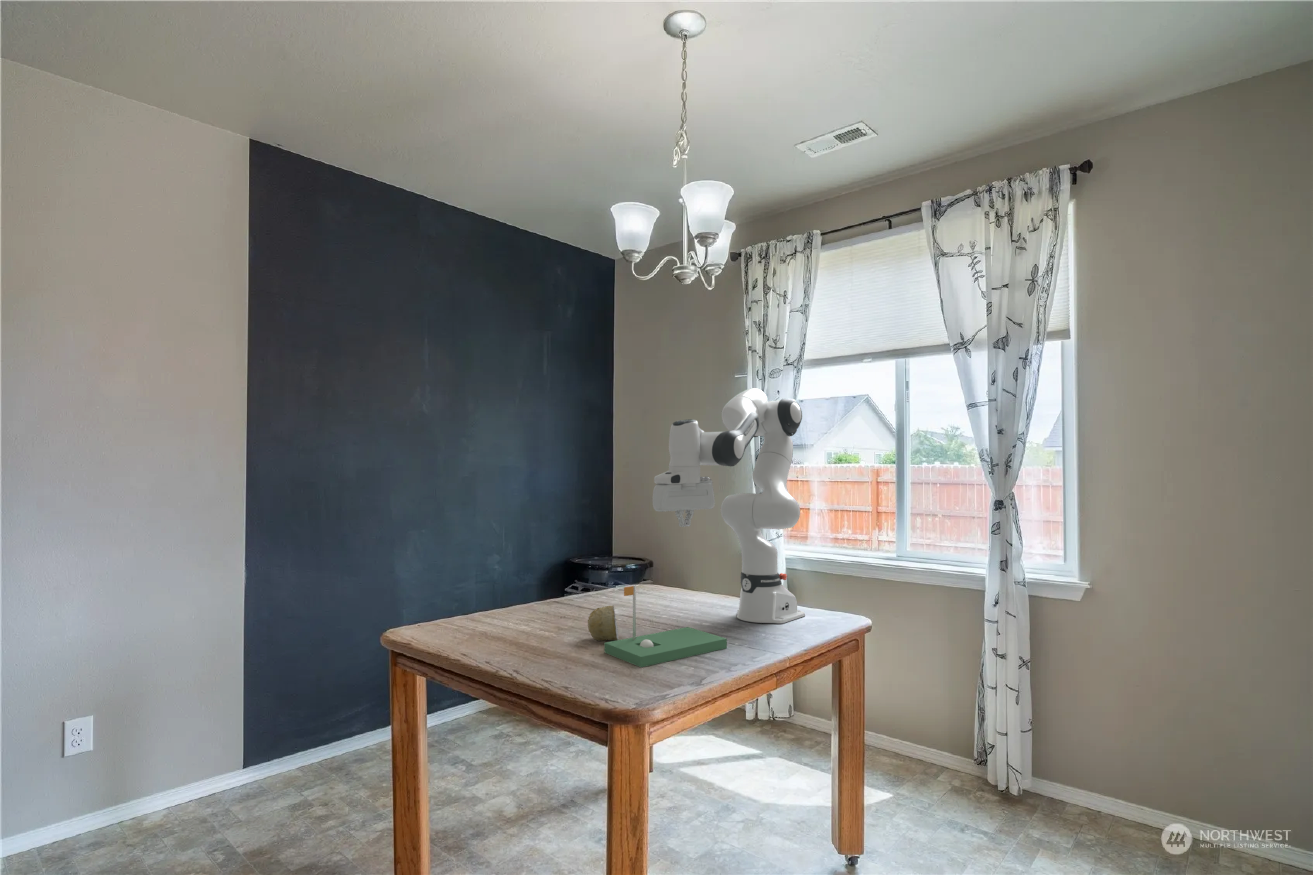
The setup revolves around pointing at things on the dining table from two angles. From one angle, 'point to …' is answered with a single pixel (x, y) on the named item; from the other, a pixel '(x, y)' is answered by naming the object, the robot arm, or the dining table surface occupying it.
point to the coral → (603, 624)
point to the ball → (646, 643)
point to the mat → (662, 643)
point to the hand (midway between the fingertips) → (684, 526)
